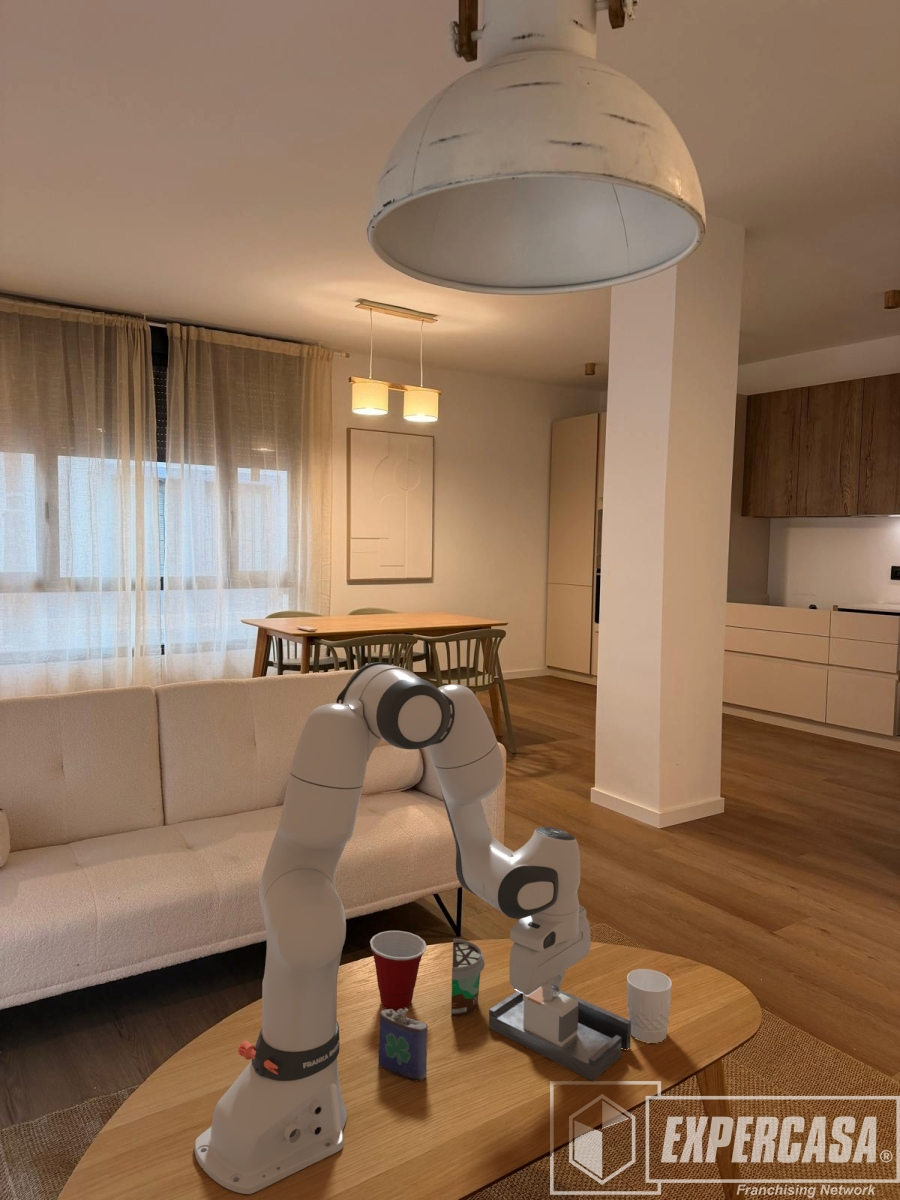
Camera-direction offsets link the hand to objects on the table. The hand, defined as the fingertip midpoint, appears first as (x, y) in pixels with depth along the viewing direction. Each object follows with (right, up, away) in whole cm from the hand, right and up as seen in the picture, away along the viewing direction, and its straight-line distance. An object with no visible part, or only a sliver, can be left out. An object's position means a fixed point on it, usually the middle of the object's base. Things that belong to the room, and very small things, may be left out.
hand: (551, 997), depth 144 cm
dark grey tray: (+2, -9, +2) cm, 9 cm away
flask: (-26, -9, -7) cm, 28 cm away
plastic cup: (-28, -8, +13) cm, 32 cm away
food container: (-14, -8, +13) cm, 21 cm away
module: (0, -6, 0) cm, 6 cm away
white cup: (+18, -9, +5) cm, 21 cm away
